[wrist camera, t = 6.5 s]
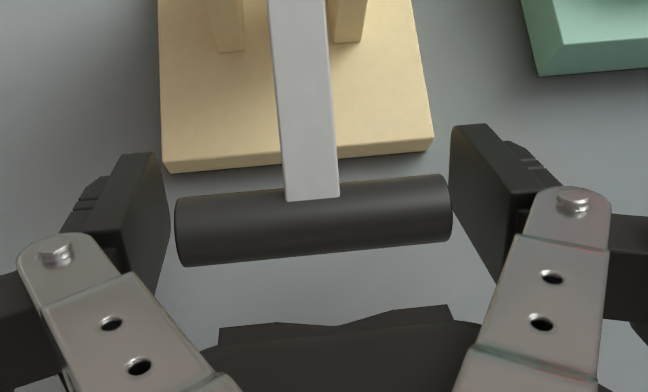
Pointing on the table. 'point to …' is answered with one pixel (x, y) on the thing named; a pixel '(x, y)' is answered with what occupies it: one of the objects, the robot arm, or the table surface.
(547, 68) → the control block
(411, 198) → the lever
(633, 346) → the table surface
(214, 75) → the bracket
